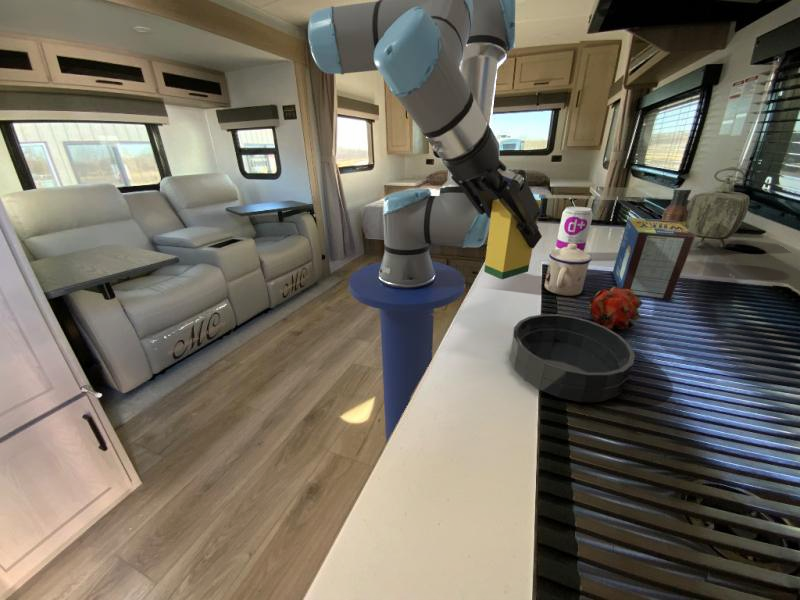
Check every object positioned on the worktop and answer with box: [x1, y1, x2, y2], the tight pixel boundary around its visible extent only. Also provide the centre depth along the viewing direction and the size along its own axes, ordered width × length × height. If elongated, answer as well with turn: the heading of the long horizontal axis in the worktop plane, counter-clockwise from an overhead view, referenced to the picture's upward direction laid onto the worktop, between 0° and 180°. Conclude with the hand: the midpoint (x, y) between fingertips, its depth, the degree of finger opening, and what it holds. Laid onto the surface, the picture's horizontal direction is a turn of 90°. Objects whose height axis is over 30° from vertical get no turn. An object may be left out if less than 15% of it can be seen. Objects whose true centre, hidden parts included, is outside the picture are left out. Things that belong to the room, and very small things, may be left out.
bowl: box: [509, 313, 636, 403], centre depth 54 cm, size 17×17×6 cm
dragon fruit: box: [588, 286, 643, 331], centre depth 66 cm, size 8×8×12 cm
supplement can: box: [554, 206, 594, 252], centre depth 102 cm, size 8×8×15 cm
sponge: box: [483, 198, 542, 280], centre depth 59 cm, size 4×7×13 cm, turn 122°
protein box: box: [612, 217, 696, 301], centre depth 81 cm, size 10×15×16 cm
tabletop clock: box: [685, 167, 751, 249], centre depth 108 cm, size 14×9×25 cm, turn 40°
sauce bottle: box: [660, 187, 692, 227], centre depth 104 cm, size 6×6×20 cm
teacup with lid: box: [544, 243, 592, 297], centre depth 80 cm, size 12×9×12 cm
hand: (524, 238), depth 61 cm, fingers closed on sponge, 4 cm apart
